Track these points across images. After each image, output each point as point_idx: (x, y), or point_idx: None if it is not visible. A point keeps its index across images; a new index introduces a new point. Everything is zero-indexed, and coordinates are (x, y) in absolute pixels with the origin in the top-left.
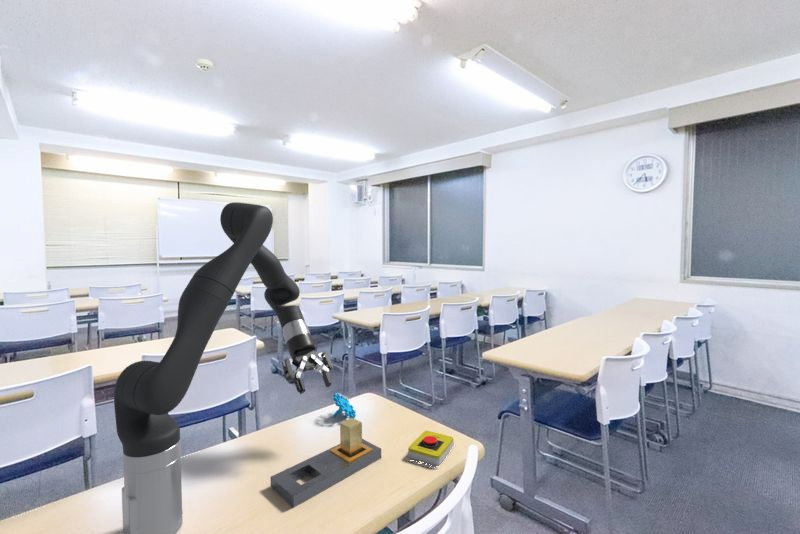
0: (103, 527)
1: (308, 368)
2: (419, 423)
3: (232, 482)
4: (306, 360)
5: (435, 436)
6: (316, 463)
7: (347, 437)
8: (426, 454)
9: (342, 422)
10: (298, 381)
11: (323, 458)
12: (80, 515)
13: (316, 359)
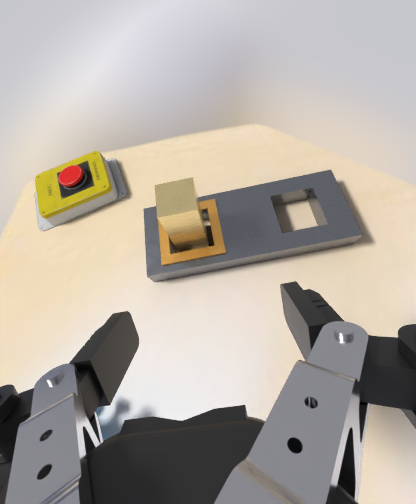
0: None
1: (210, 420)
2: (6, 279)
3: None
4: (224, 487)
5: (49, 191)
6: (267, 228)
7: (198, 201)
8: (103, 164)
9: (191, 208)
10: (329, 321)
11: (248, 236)
12: None
13: (35, 502)
